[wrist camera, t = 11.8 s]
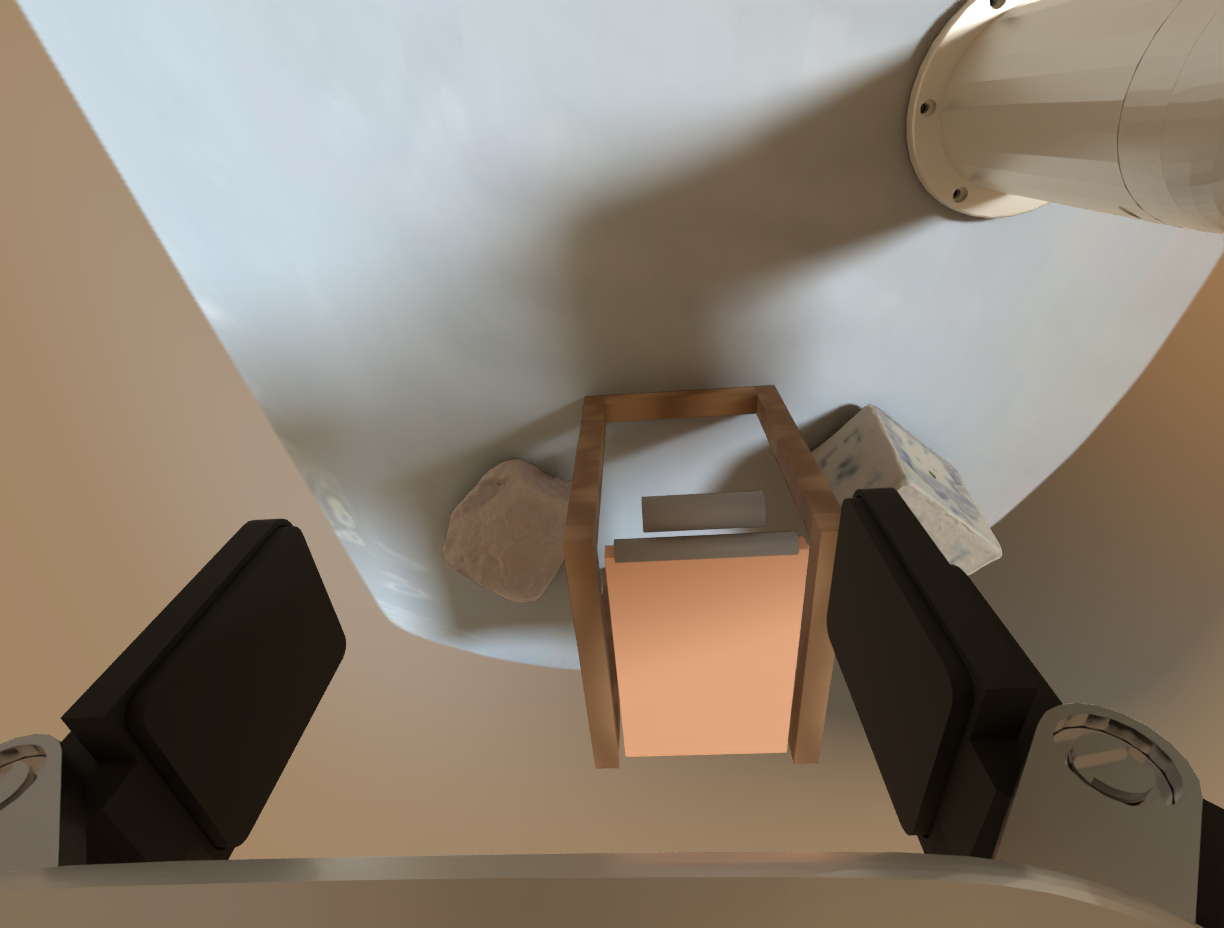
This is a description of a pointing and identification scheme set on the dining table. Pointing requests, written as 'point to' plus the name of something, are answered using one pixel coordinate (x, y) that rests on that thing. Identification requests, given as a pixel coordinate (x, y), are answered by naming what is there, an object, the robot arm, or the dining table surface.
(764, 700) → the trapdoor
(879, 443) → the white speckled block
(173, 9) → the dining table surface
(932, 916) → the robot arm
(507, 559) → the stone block
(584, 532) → the stand
